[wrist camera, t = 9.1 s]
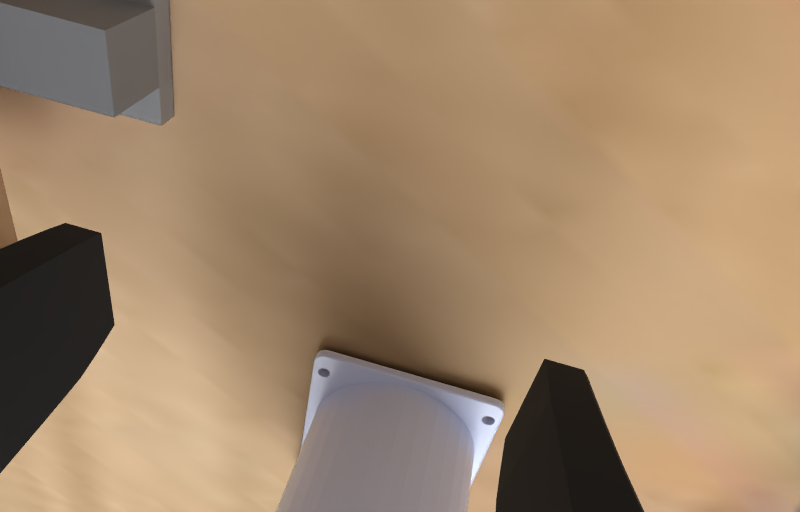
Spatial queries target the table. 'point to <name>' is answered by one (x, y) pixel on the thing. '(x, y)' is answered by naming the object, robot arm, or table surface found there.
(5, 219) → the batten
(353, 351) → the table surface
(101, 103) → the ridge
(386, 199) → the table surface
